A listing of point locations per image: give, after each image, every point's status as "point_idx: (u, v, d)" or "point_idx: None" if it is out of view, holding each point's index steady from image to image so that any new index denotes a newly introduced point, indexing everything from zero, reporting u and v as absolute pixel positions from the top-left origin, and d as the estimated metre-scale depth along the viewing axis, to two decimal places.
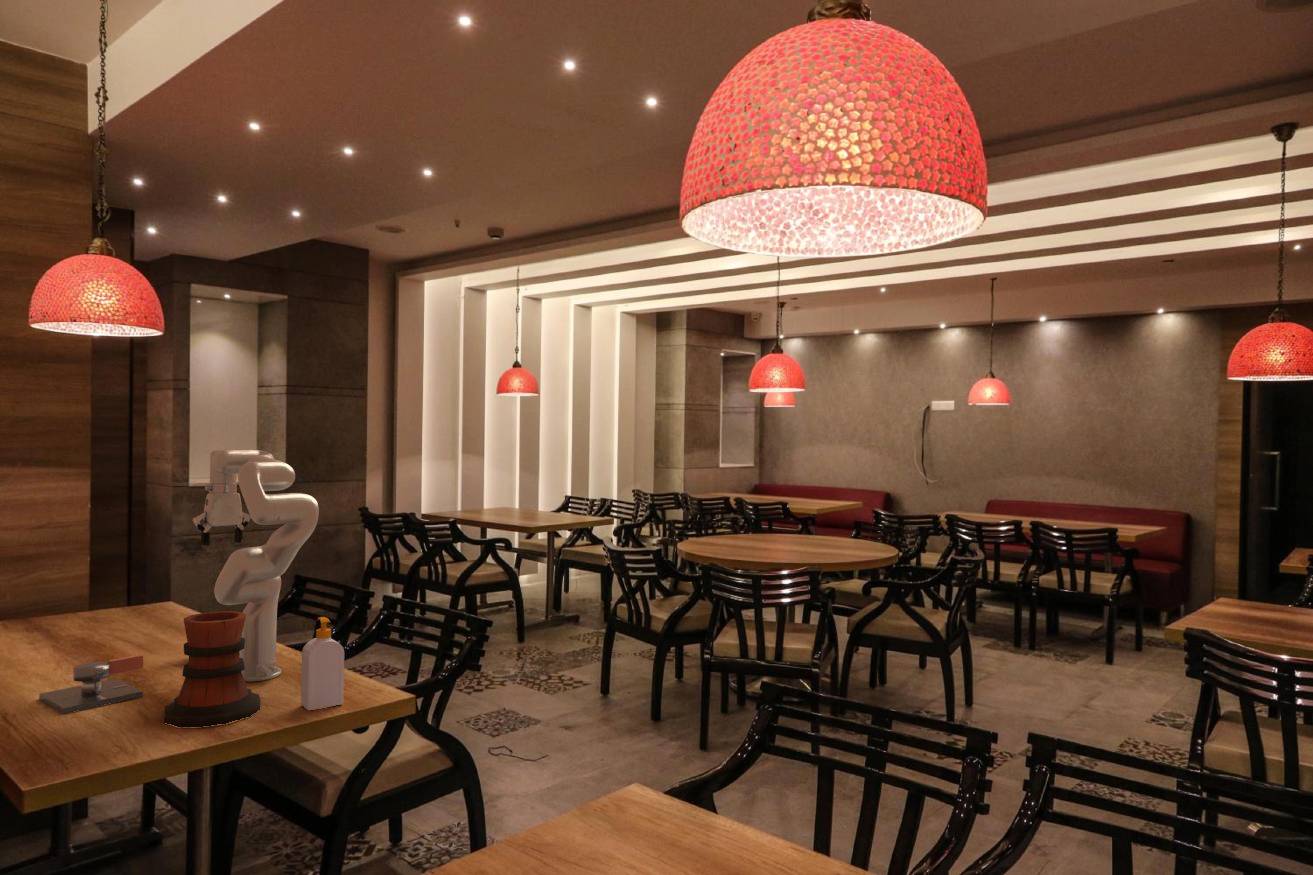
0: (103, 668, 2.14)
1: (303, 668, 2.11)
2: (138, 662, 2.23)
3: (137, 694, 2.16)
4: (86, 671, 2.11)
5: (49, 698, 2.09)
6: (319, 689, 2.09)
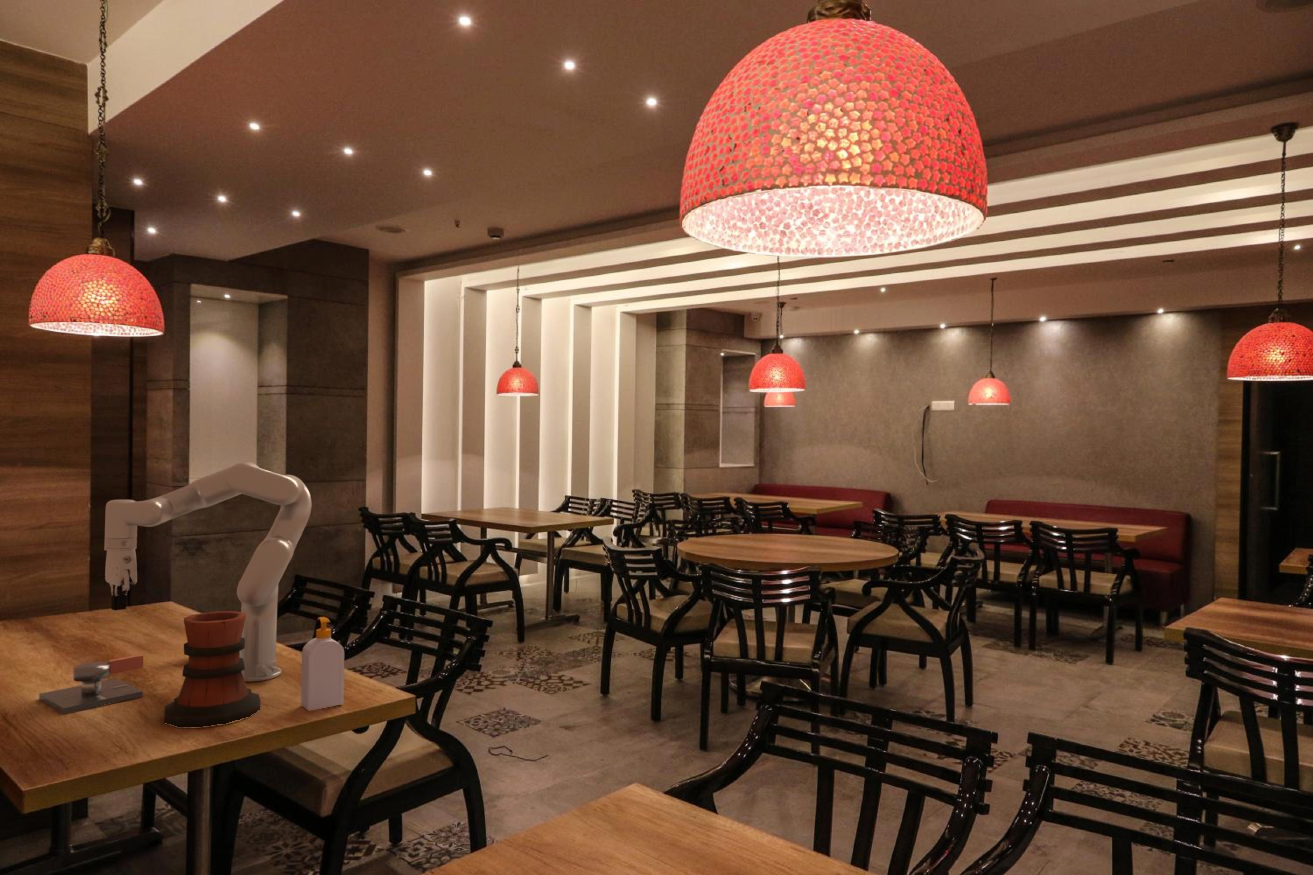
0: (103, 668, 2.14)
1: (303, 668, 2.11)
2: (138, 662, 2.23)
3: (137, 694, 2.16)
4: (86, 671, 2.11)
5: (49, 698, 2.09)
6: (319, 689, 2.09)
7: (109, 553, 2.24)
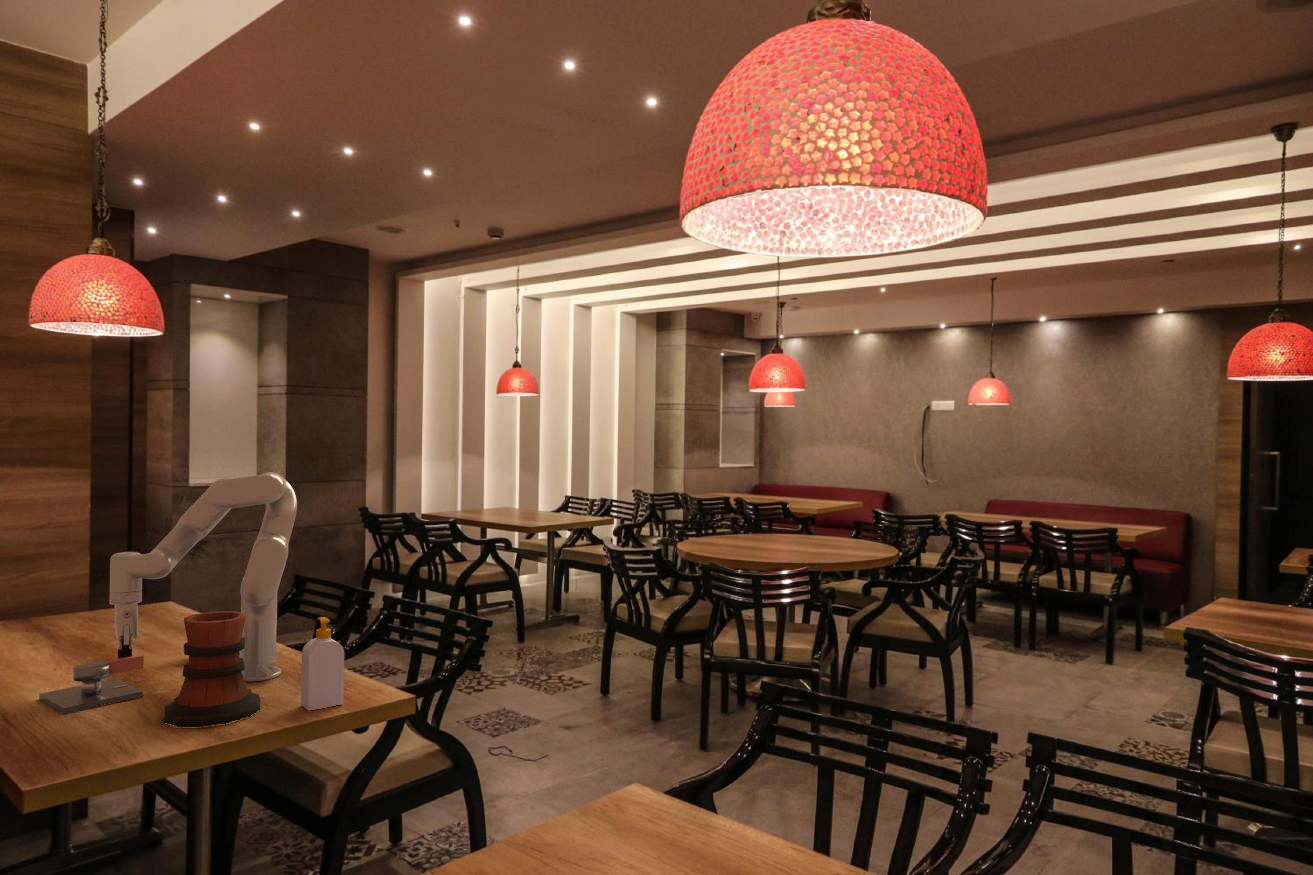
0: (103, 668, 2.14)
1: (303, 668, 2.11)
2: (138, 662, 2.23)
3: (137, 694, 2.16)
4: (85, 671, 2.11)
5: (49, 698, 2.09)
6: (319, 689, 2.09)
7: None
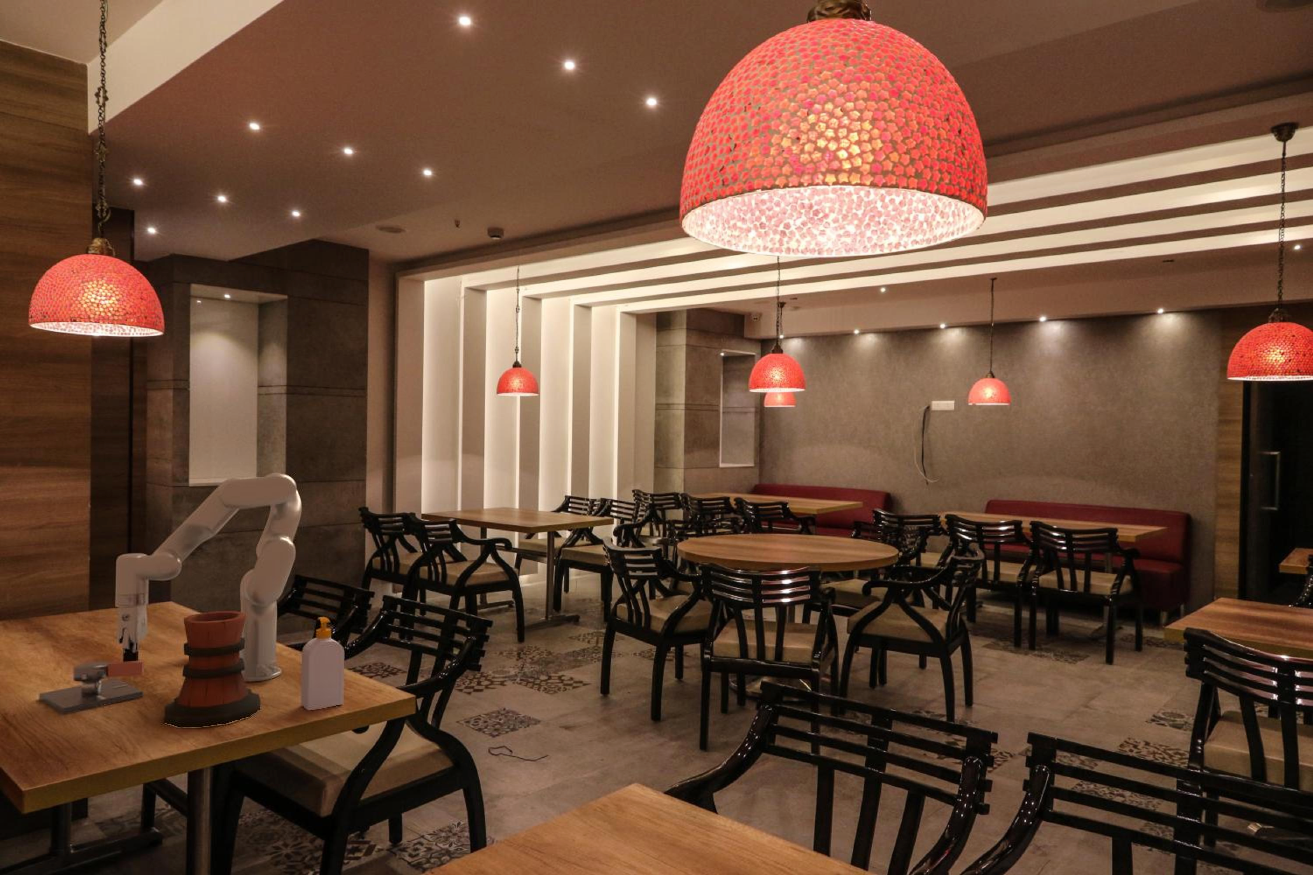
0: (92, 670, 2.12)
1: (303, 668, 2.11)
2: (137, 668, 2.17)
3: (137, 694, 2.16)
4: (77, 671, 2.11)
5: (49, 698, 2.09)
6: (319, 689, 2.09)
7: None
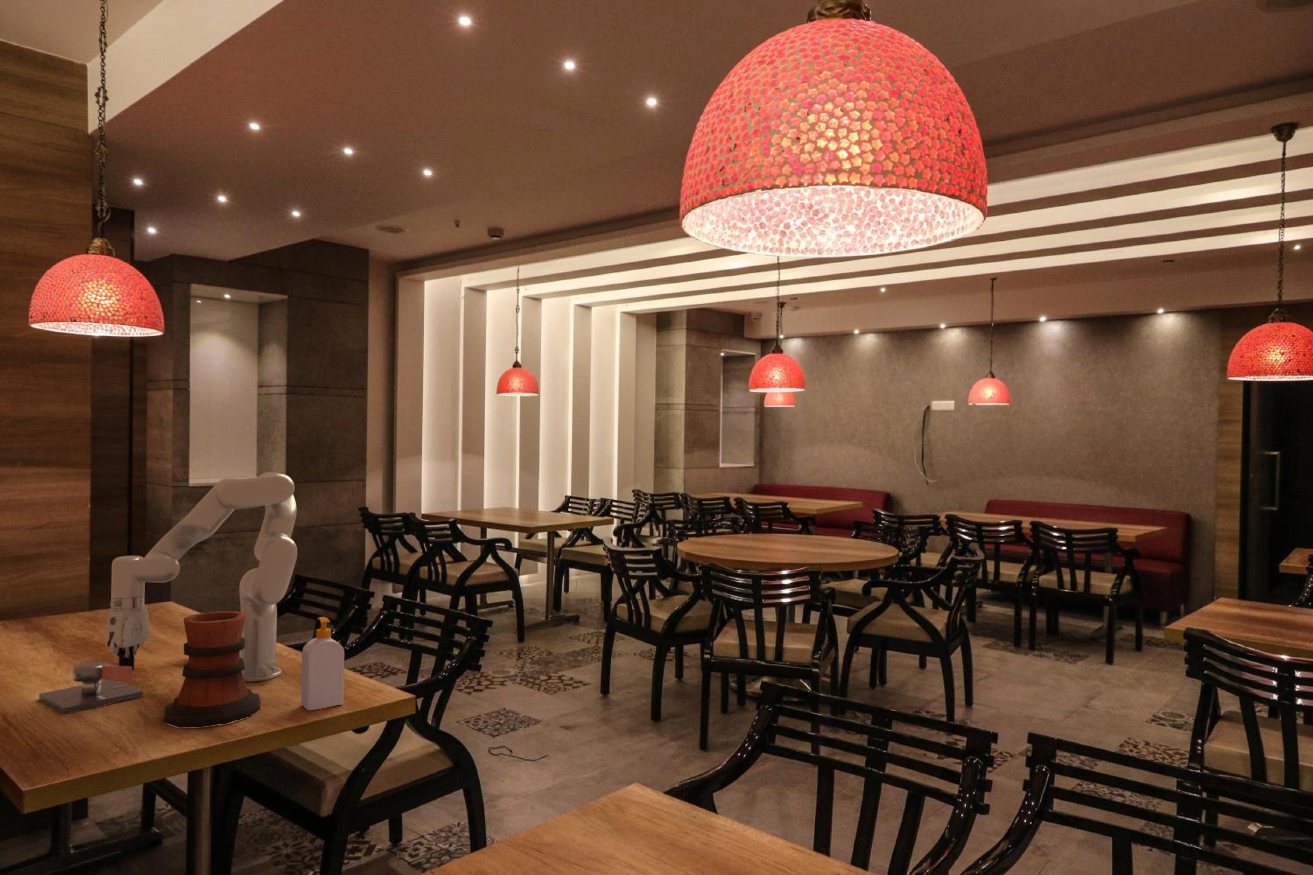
0: (83, 671, 2.11)
1: (303, 668, 2.11)
2: (123, 674, 2.12)
3: (137, 694, 2.16)
4: None
5: (49, 698, 2.09)
6: (319, 689, 2.09)
7: None
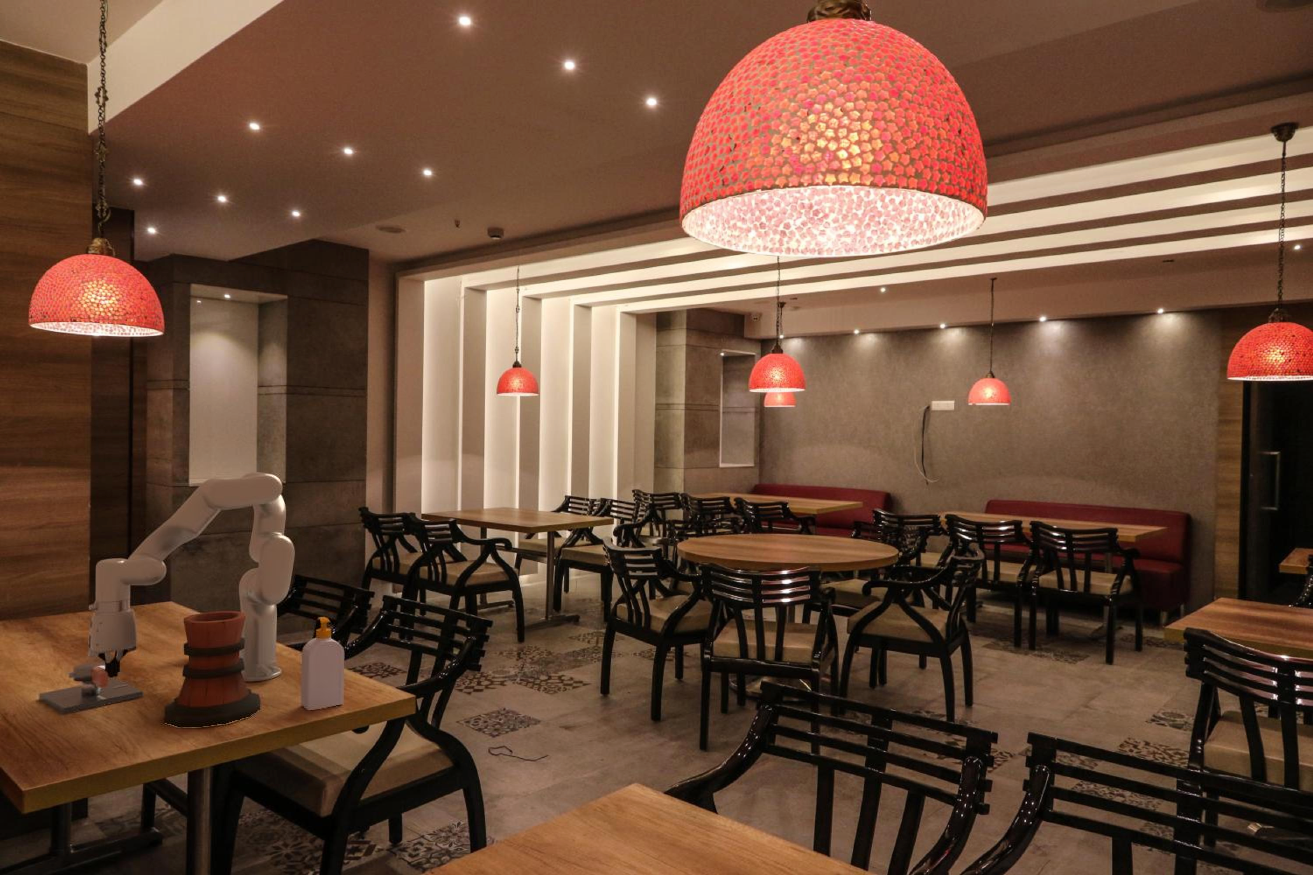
0: (76, 670, 2.11)
1: (303, 668, 2.11)
2: (98, 679, 2.07)
3: (137, 694, 2.16)
4: None
5: (49, 698, 2.09)
6: (319, 689, 2.09)
7: None
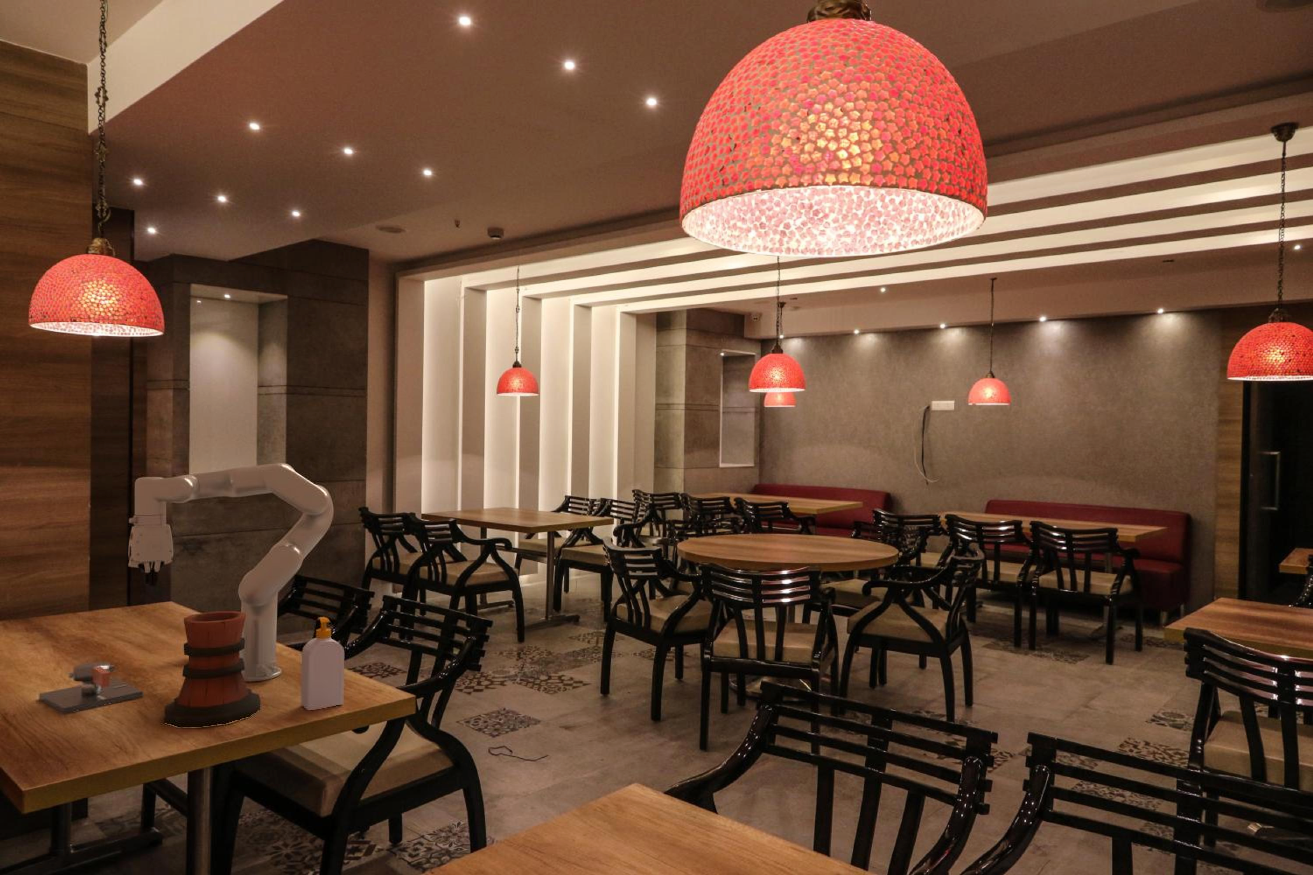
0: (76, 670, 2.11)
1: (303, 668, 2.11)
2: (100, 679, 2.07)
3: (137, 694, 2.16)
4: None
5: (49, 698, 2.09)
6: (319, 689, 2.09)
7: None
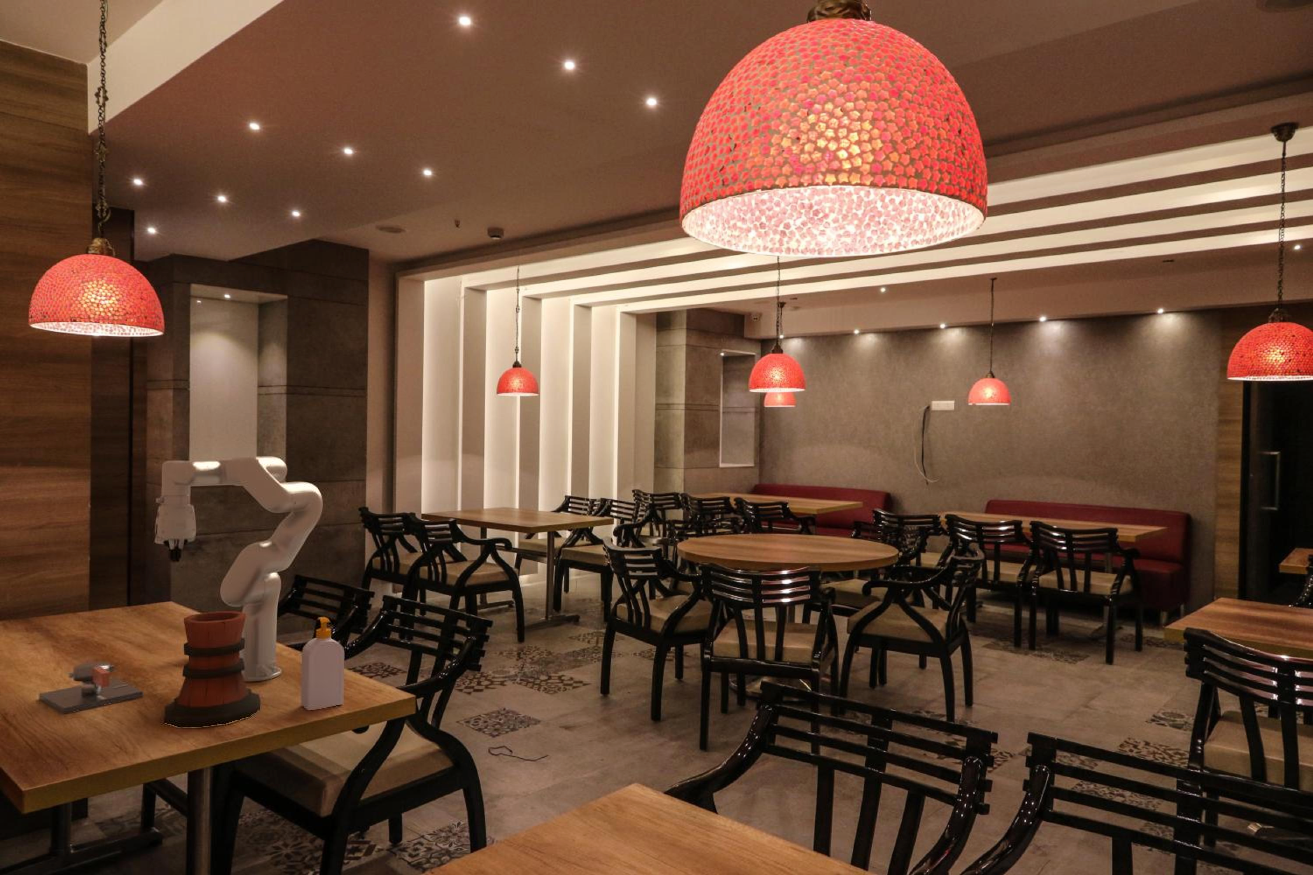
0: (76, 670, 2.11)
1: (303, 668, 2.11)
2: (100, 679, 2.07)
3: (137, 694, 2.16)
4: None
5: (49, 698, 2.09)
6: (319, 689, 2.09)
7: None
